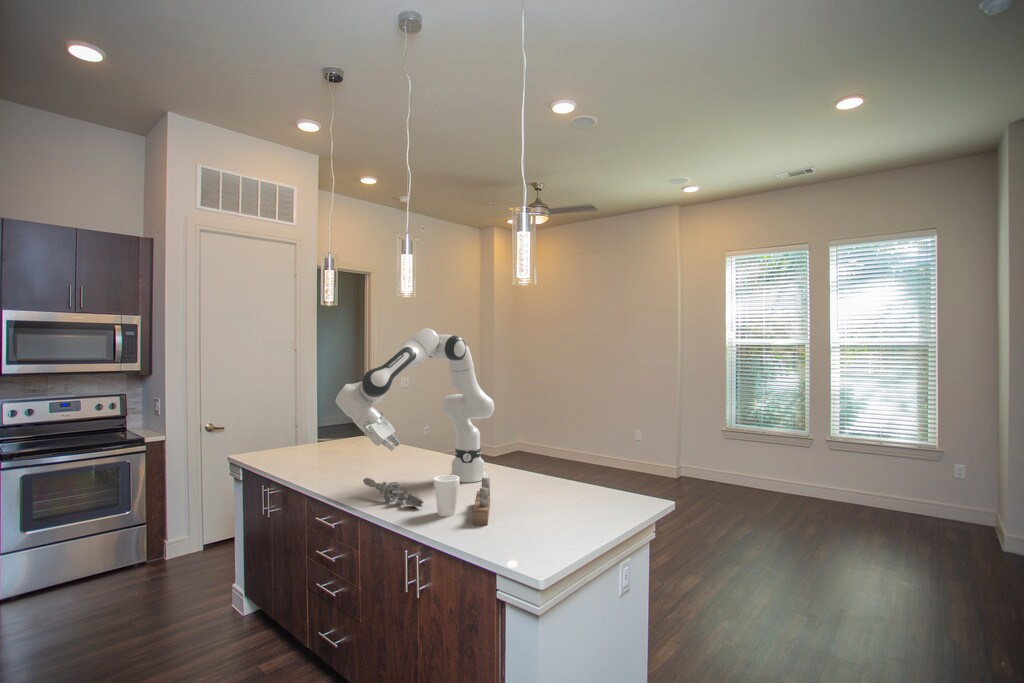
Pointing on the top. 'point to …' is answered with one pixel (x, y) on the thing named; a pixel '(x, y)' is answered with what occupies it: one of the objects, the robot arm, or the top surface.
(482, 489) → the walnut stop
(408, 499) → the spaceship
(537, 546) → the top surface
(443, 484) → the foam cup
